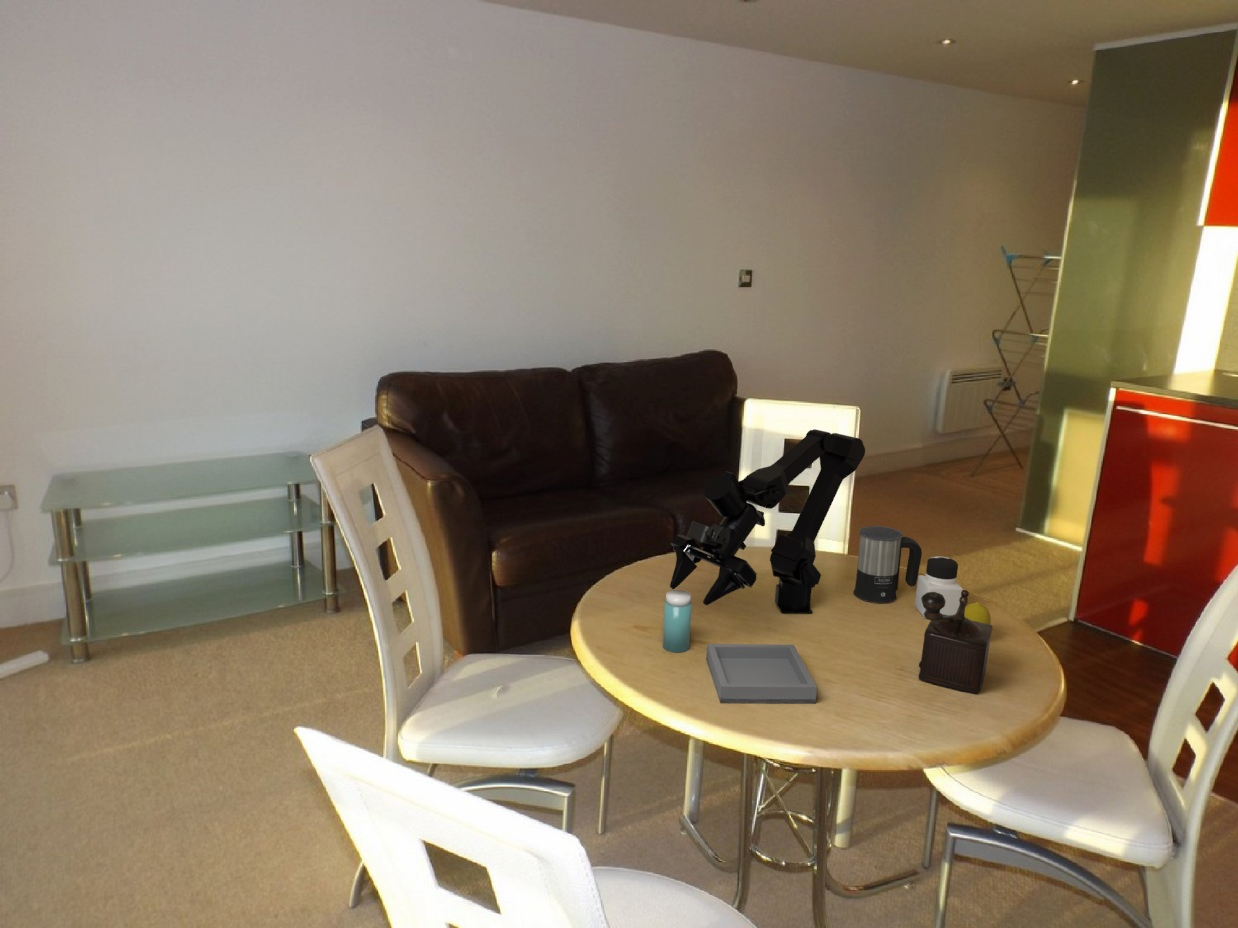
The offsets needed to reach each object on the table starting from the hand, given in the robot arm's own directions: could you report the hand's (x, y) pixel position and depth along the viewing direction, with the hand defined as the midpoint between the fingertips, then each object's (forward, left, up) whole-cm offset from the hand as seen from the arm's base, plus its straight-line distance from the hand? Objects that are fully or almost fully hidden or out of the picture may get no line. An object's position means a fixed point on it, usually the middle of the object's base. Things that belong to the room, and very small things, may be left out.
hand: (687, 595), depth 166 cm
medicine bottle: (-55, -16, -10) cm, 58 cm away
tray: (-11, +14, -10) cm, 21 cm away
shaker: (+2, +1, -10) cm, 10 cm away
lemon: (-57, -3, -10) cm, 58 cm away
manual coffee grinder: (-45, +14, -10) cm, 48 cm away
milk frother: (-46, -29, -10) cm, 55 cm away
